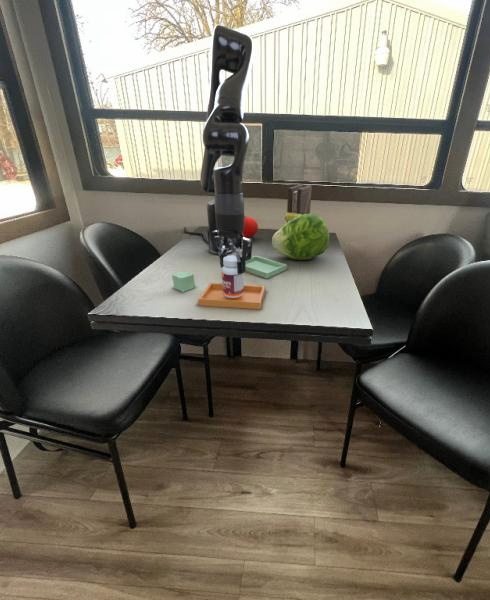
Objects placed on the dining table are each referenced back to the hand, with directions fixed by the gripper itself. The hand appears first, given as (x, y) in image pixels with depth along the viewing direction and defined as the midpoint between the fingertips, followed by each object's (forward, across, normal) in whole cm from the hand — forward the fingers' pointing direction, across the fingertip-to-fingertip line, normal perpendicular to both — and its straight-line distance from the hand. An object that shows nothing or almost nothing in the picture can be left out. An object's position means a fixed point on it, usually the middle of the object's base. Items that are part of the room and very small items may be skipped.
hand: (232, 270), depth 85 cm
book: (+9, +23, -67) cm, 71 cm away
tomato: (+9, +43, -49) cm, 66 cm away
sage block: (+9, +17, +5) cm, 20 cm away
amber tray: (+9, 0, 0) cm, 9 cm away
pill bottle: (+8, 0, 0) cm, 8 cm away
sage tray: (+9, +10, -24) cm, 27 cm away
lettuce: (+9, +6, -44) cm, 45 cm away
